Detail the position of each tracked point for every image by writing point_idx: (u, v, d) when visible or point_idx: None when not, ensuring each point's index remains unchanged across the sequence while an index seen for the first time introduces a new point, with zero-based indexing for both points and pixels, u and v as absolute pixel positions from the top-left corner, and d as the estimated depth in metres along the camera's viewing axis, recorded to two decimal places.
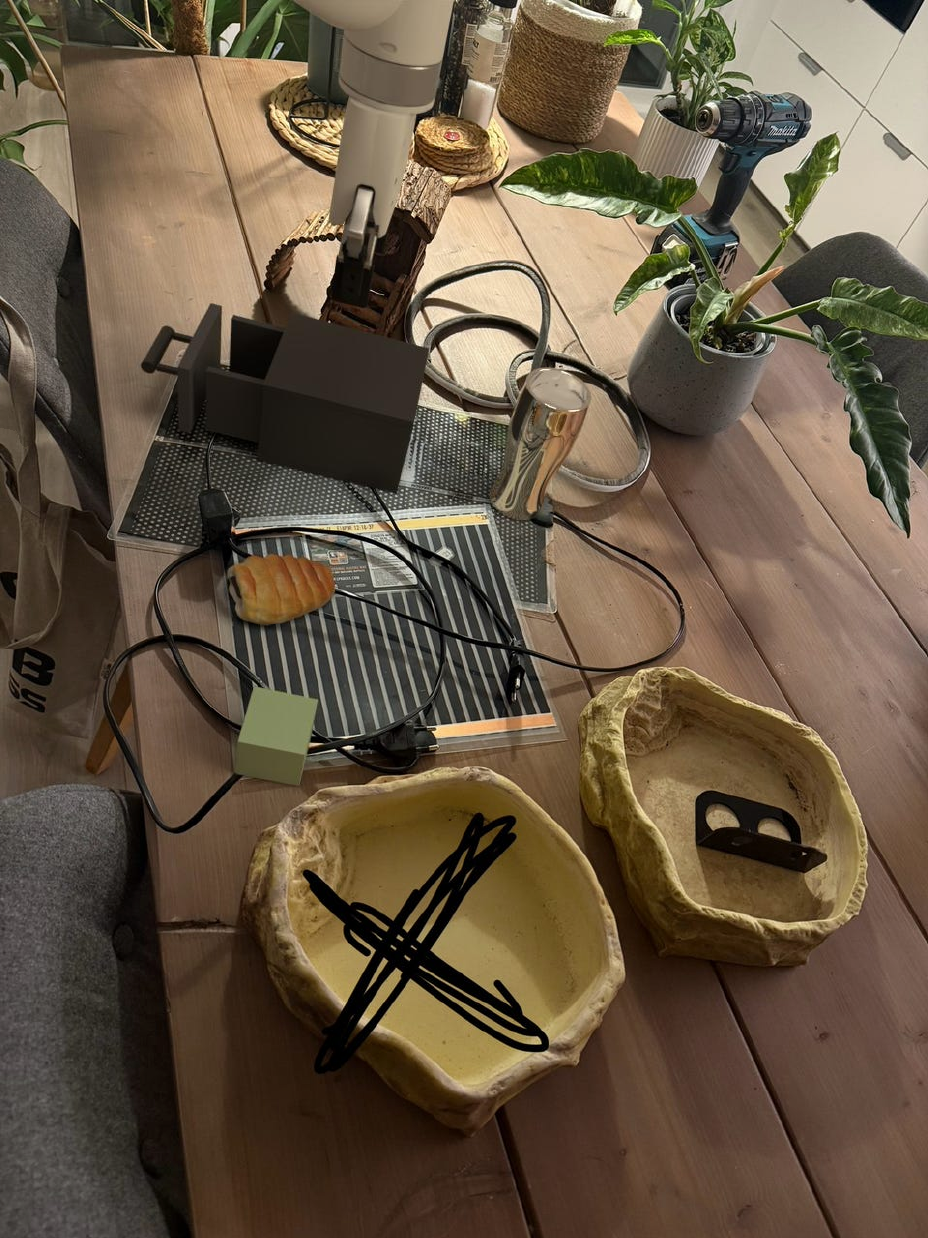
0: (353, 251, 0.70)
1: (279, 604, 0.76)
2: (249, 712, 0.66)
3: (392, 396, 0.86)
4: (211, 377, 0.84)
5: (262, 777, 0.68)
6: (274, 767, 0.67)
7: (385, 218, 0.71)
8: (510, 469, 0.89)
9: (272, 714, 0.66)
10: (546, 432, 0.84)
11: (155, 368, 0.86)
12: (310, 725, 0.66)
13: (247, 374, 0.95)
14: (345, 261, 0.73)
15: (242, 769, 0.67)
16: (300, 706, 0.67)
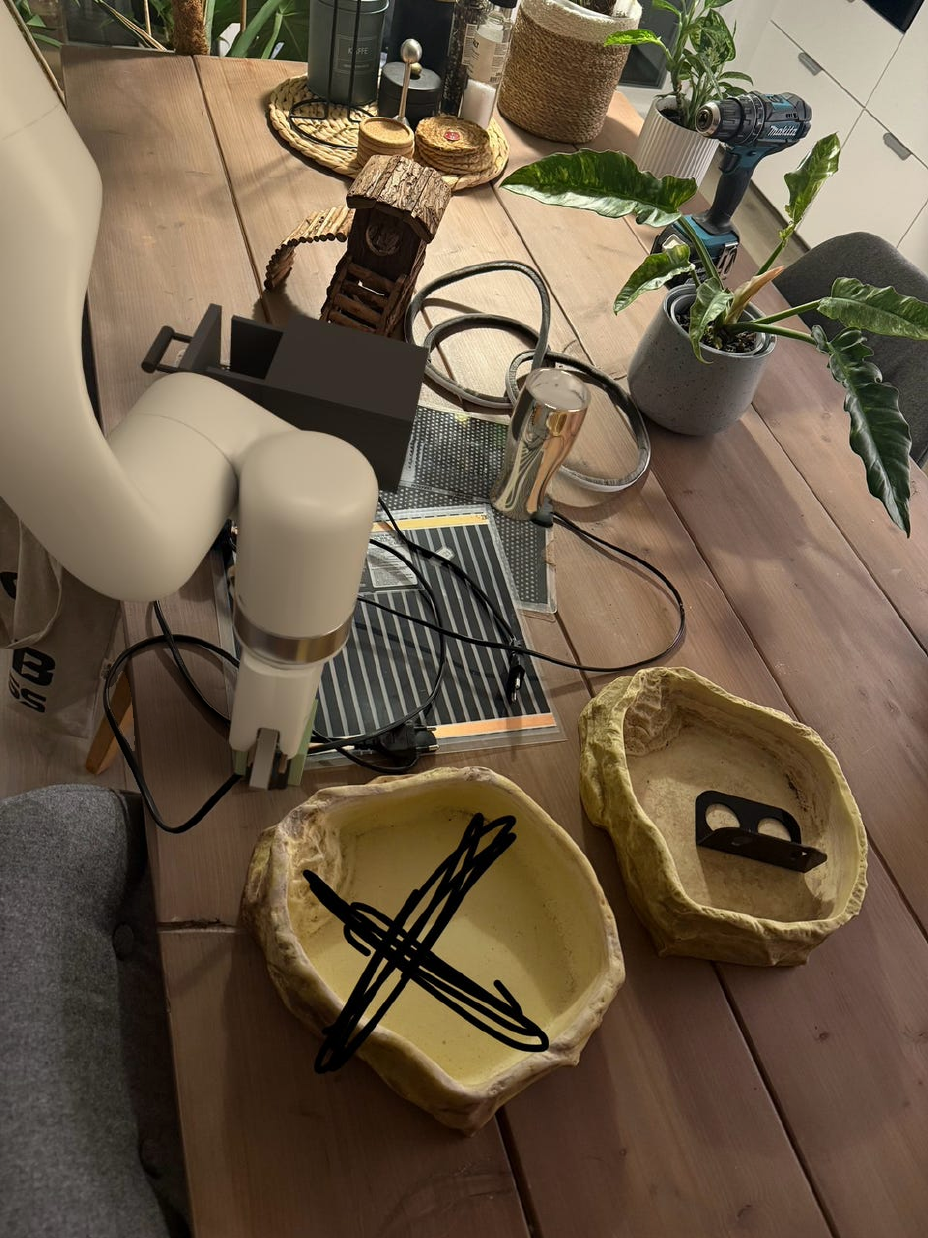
0: None
1: None
2: None
3: (392, 396, 0.86)
4: (211, 377, 0.84)
5: None
6: None
7: (295, 749, 0.60)
8: (510, 469, 0.89)
9: None
10: (546, 432, 0.84)
11: (155, 368, 0.86)
12: (310, 725, 0.66)
13: (247, 374, 0.95)
14: None
15: (242, 769, 0.67)
16: None
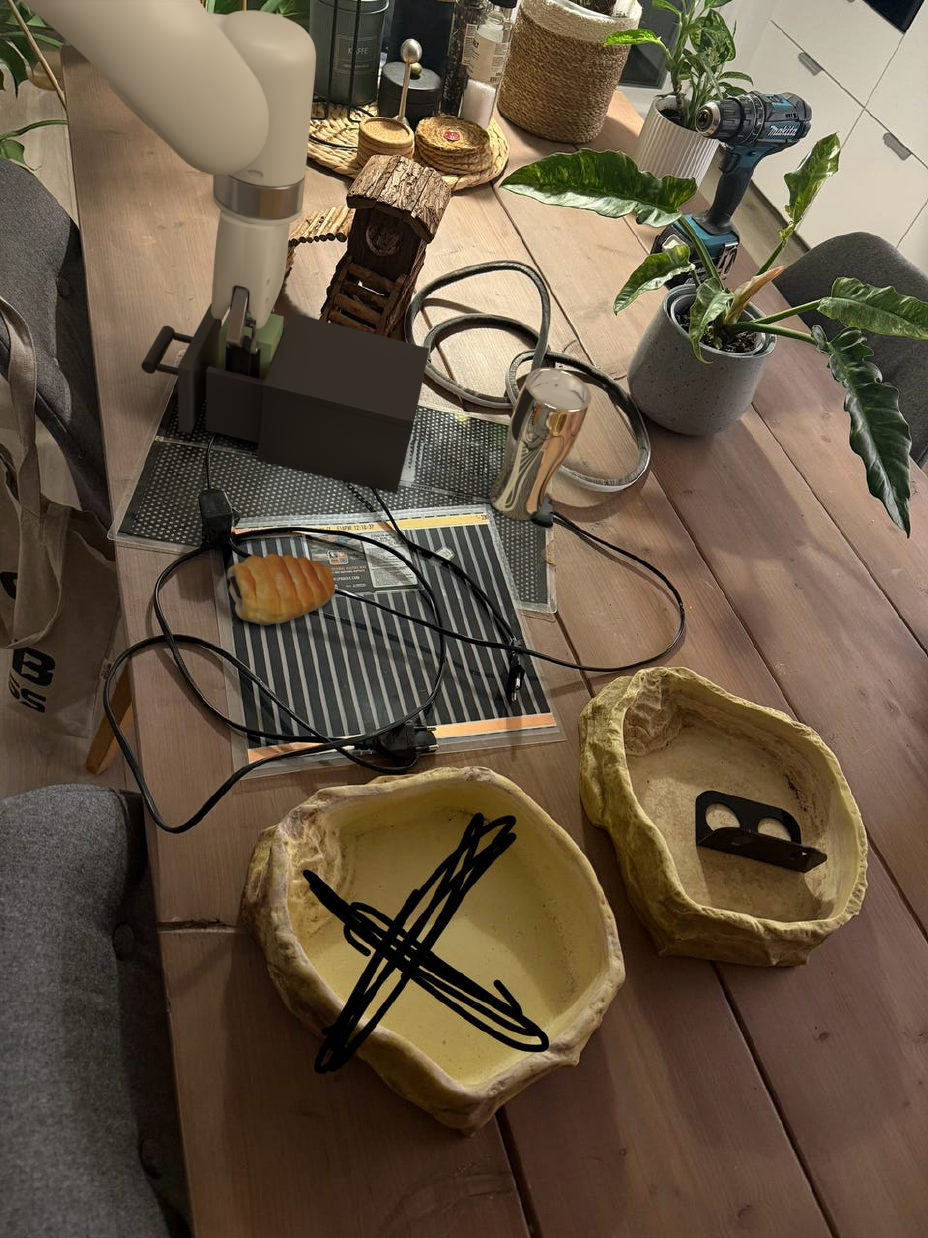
0: (236, 346, 0.80)
1: (279, 603, 0.76)
2: (228, 316, 0.85)
3: (392, 396, 0.86)
4: (211, 377, 0.84)
5: None
6: None
7: (261, 313, 0.79)
8: (510, 469, 0.89)
9: None
10: (546, 432, 0.84)
11: (155, 368, 0.86)
12: (276, 329, 0.85)
13: None
14: (232, 348, 0.82)
15: (224, 367, 0.86)
16: (269, 318, 0.86)
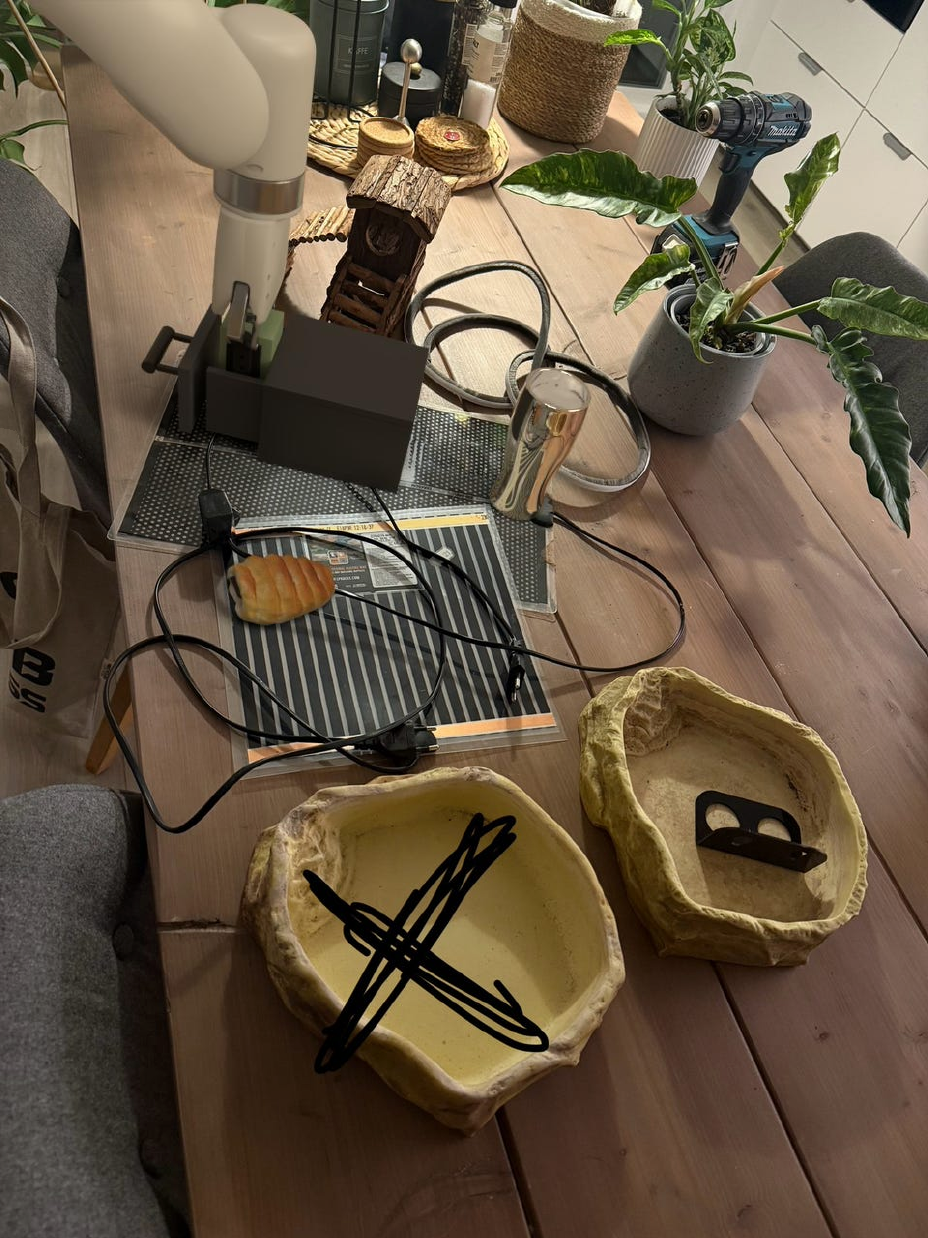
0: (236, 342, 0.80)
1: (279, 603, 0.76)
2: None
3: (392, 396, 0.86)
4: (211, 377, 0.84)
5: None
6: None
7: (261, 309, 0.78)
8: (510, 469, 0.89)
9: None
10: (546, 432, 0.84)
11: (155, 368, 0.86)
12: (277, 324, 0.85)
13: None
14: (233, 344, 0.82)
15: (224, 363, 0.86)
16: (269, 314, 0.86)
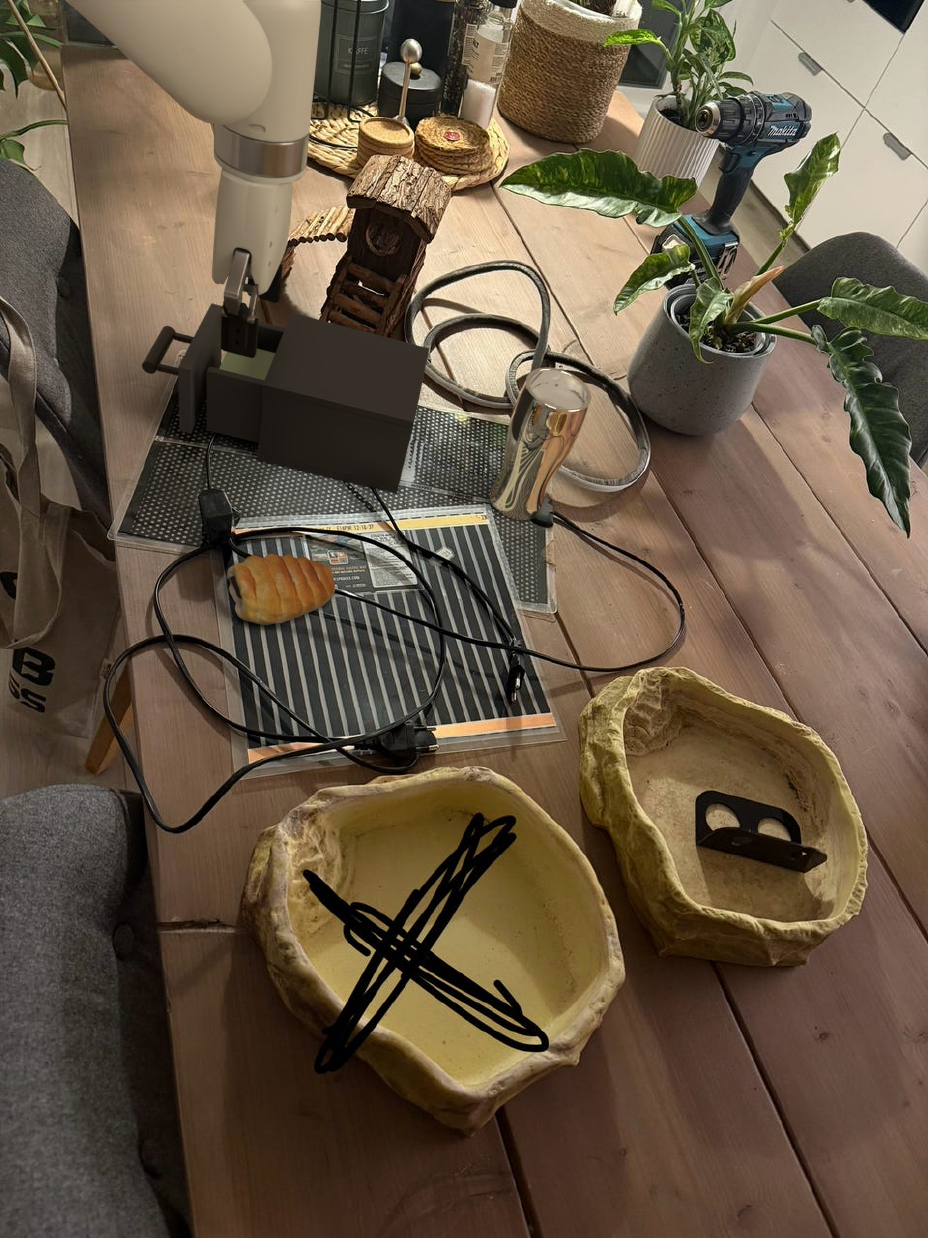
0: (232, 309, 0.75)
1: (279, 603, 0.76)
2: (227, 355, 0.88)
3: (392, 396, 0.86)
4: (212, 377, 0.84)
5: None
6: None
7: (263, 277, 0.76)
8: (510, 469, 0.89)
9: (244, 358, 0.88)
10: (546, 432, 0.84)
11: (156, 368, 0.86)
12: None
13: None
14: (228, 317, 0.77)
15: None
16: (266, 356, 0.89)
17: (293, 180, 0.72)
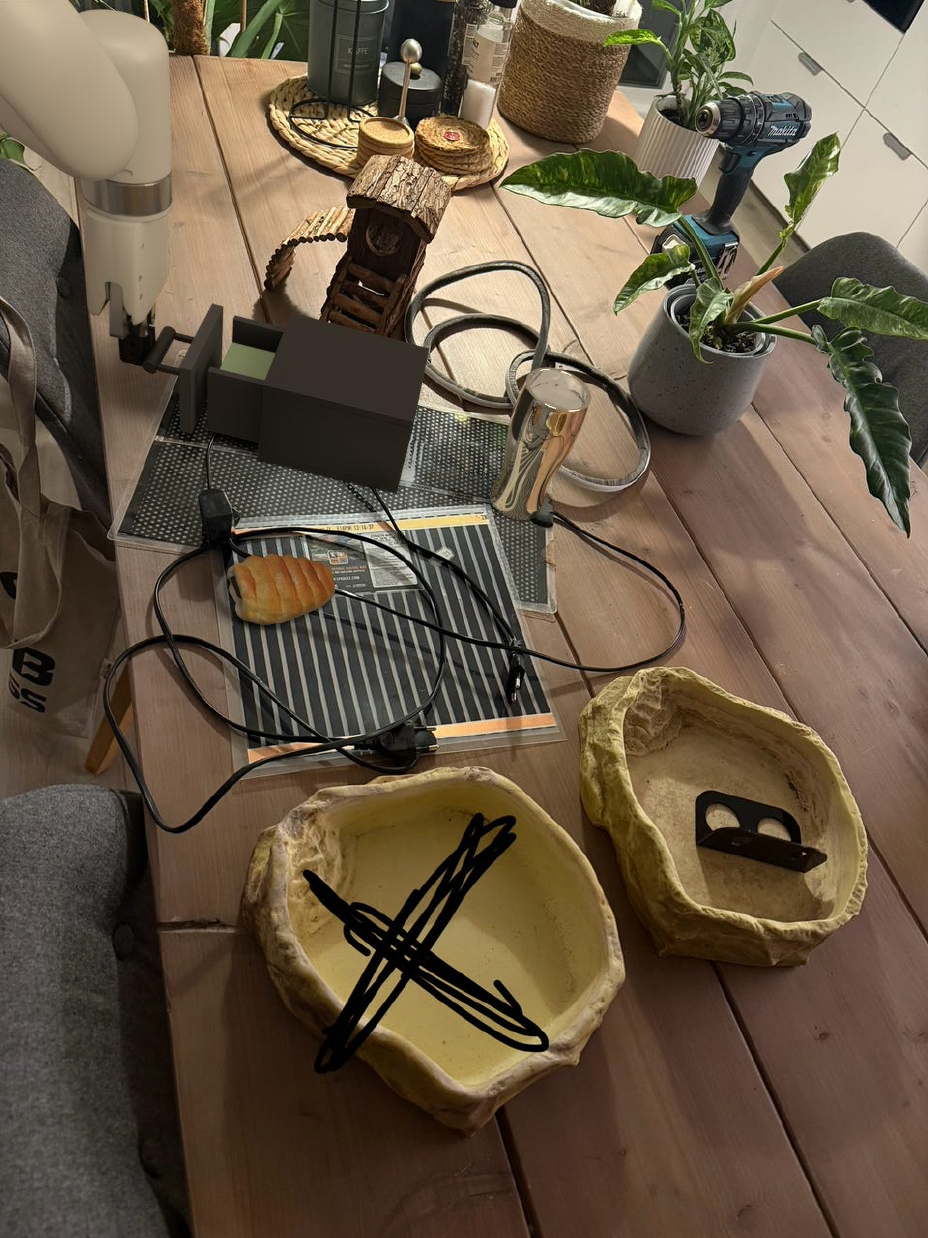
0: None
1: (279, 603, 0.76)
2: (227, 355, 0.88)
3: (392, 396, 0.86)
4: (213, 377, 0.84)
5: None
6: None
7: (136, 309, 0.80)
8: (510, 469, 0.89)
9: (245, 358, 0.88)
10: (546, 432, 0.84)
11: (157, 368, 0.86)
12: None
13: None
14: None
15: None
16: (266, 356, 0.89)
17: (157, 218, 0.76)
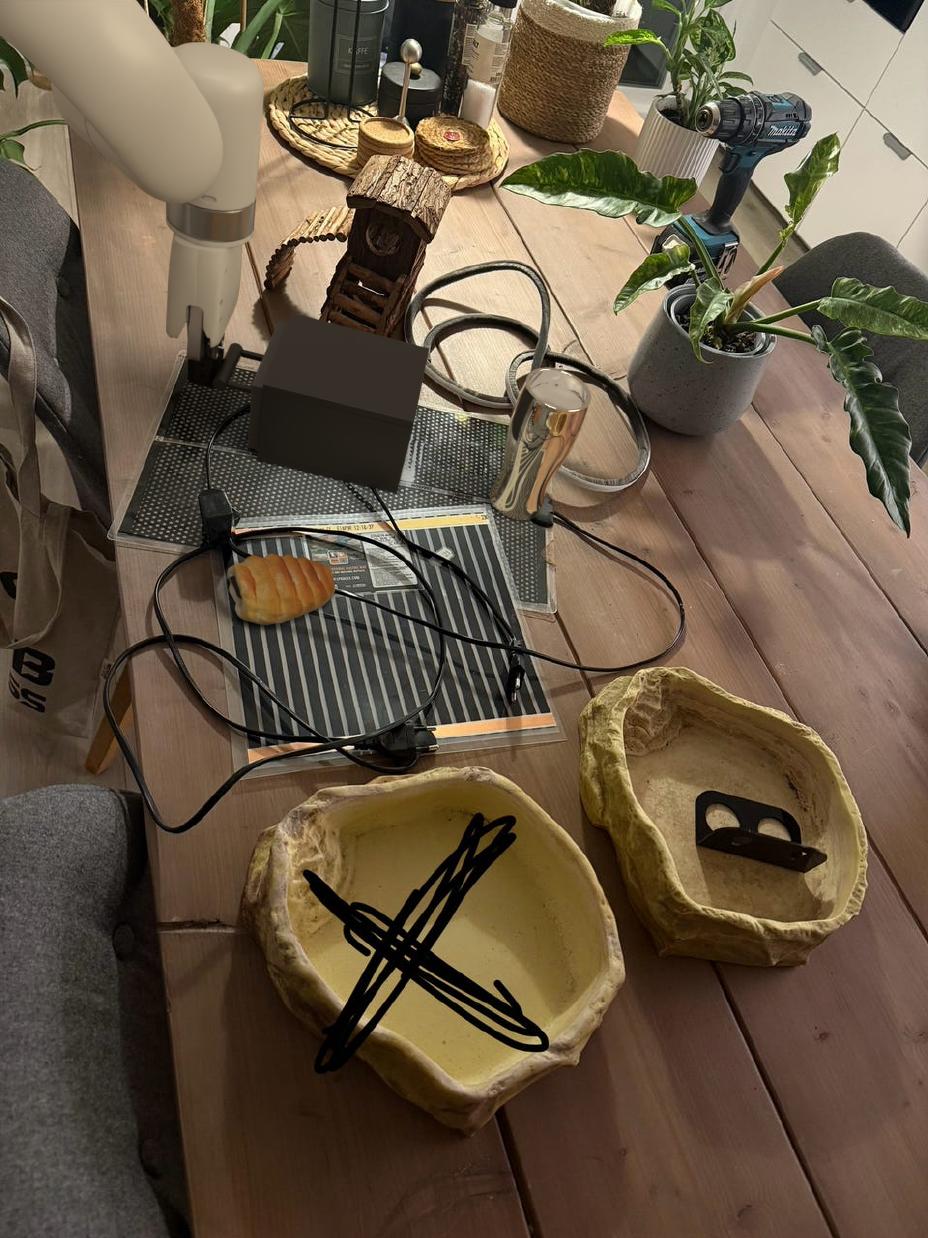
0: None
1: (279, 603, 0.76)
2: None
3: (392, 396, 0.86)
4: None
5: None
6: None
7: (215, 332, 0.81)
8: (510, 469, 0.89)
9: None
10: (546, 432, 0.84)
11: (226, 386, 0.87)
12: None
13: None
14: None
15: None
16: None
17: (241, 243, 0.77)
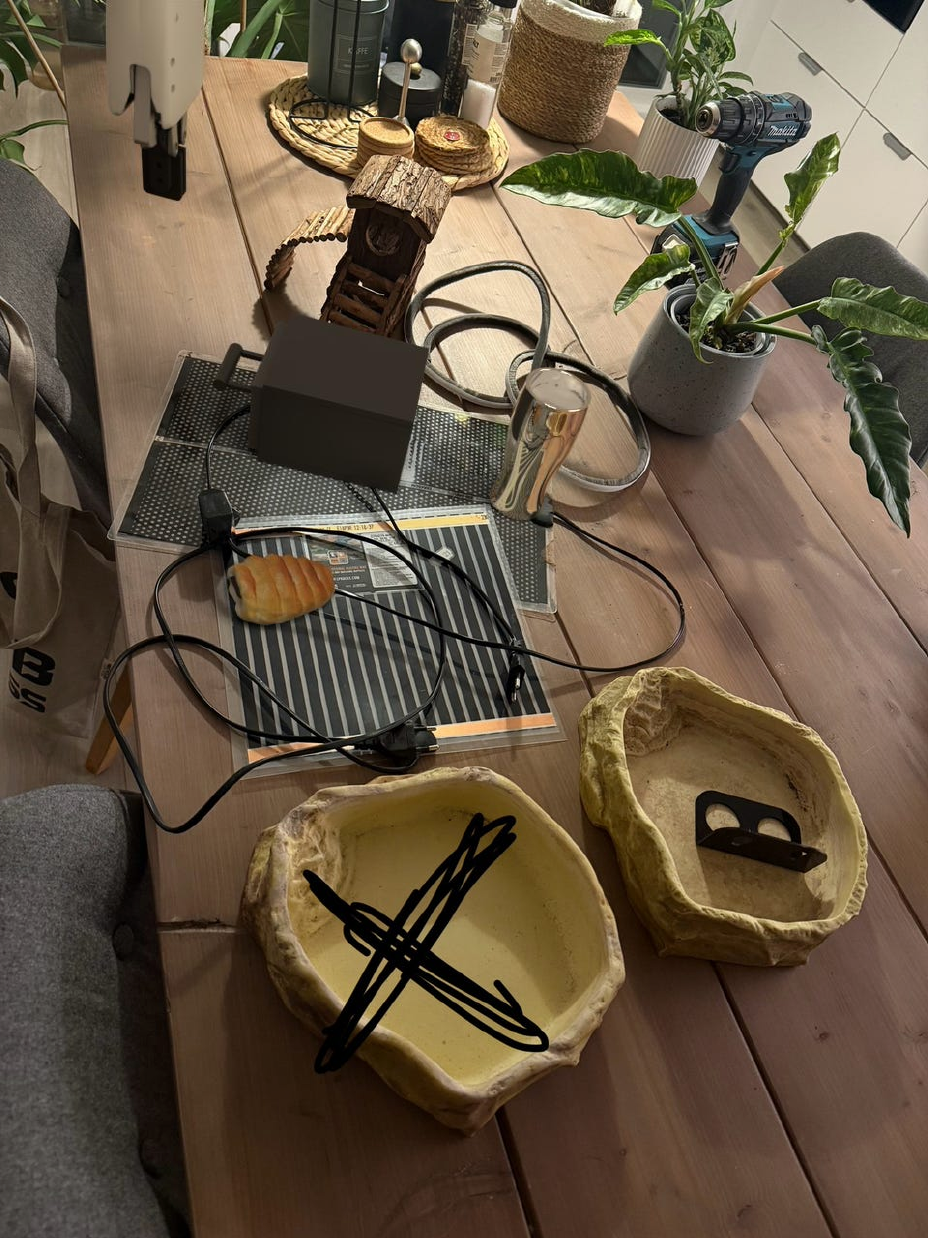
0: None
1: (279, 603, 0.76)
2: None
3: (392, 396, 0.86)
4: None
5: None
6: None
7: (167, 104, 0.66)
8: (510, 469, 0.89)
9: None
10: (546, 432, 0.84)
11: (226, 386, 0.87)
12: None
13: None
14: (147, 146, 0.71)
15: None
16: None
17: None
